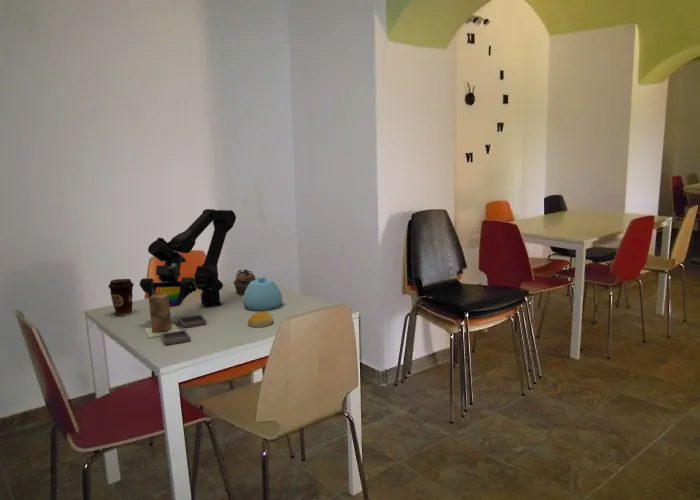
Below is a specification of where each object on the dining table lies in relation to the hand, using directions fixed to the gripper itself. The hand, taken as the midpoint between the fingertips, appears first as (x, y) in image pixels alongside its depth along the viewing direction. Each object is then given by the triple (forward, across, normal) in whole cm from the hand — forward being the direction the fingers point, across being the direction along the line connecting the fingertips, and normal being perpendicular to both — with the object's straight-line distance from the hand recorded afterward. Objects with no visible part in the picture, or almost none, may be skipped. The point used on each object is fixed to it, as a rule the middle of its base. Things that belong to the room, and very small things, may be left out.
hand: (164, 306), depth 194 cm
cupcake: (-26, +19, +38) cm, 49 cm away
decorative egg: (-15, -8, +27) cm, 32 cm away
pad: (+8, 0, +3) cm, 9 cm away
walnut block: (+8, 0, +2) cm, 8 cm away
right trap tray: (+2, +8, +9) cm, 12 cm away
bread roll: (+4, +32, +8) cm, 33 cm away
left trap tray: (+14, +7, -4) cm, 17 cm away
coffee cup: (-7, -23, +19) cm, 31 cm away
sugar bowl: (-11, +29, +23) cm, 39 cm away
